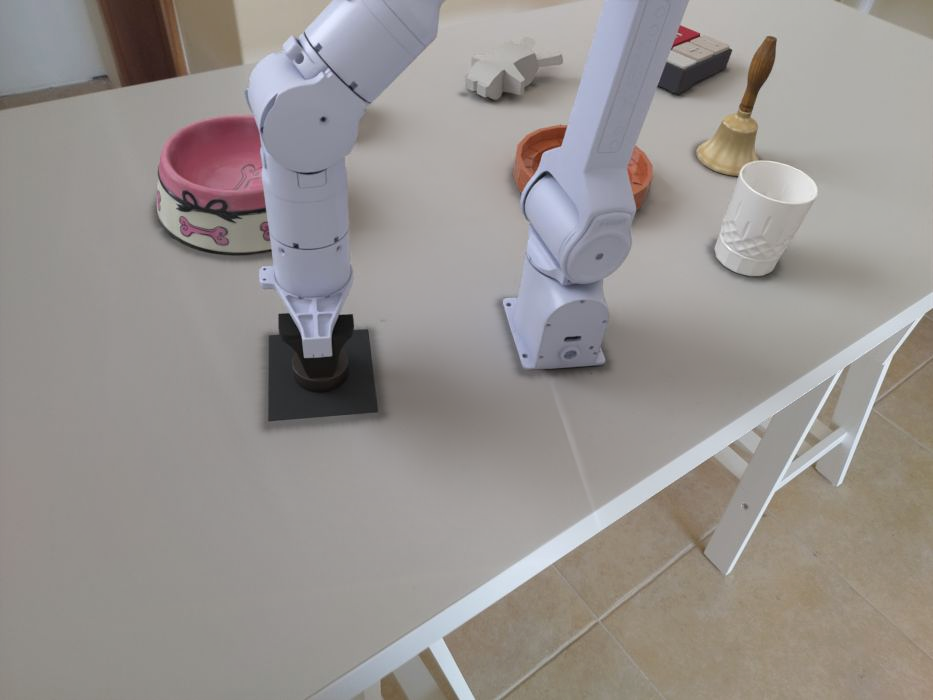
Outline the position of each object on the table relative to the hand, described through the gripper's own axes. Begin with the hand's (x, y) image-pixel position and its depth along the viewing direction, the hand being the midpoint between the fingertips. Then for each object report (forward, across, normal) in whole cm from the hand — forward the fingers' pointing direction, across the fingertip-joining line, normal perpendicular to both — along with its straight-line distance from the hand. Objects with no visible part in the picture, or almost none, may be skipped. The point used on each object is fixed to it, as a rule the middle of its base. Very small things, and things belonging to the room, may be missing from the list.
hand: (319, 354), depth 63 cm
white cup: (+3, -13, +47) cm, 49 cm away
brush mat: (+3, 0, 0) cm, 3 cm away
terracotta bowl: (+3, -28, +32) cm, 43 cm away
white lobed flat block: (+3, -54, +29) cm, 61 cm away
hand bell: (+3, -33, +54) cm, 63 cm away
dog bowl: (+3, -26, -7) cm, 27 cm away
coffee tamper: (+2, 0, 0) cm, 2 cm away
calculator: (0, -59, +56) cm, 81 cm away
